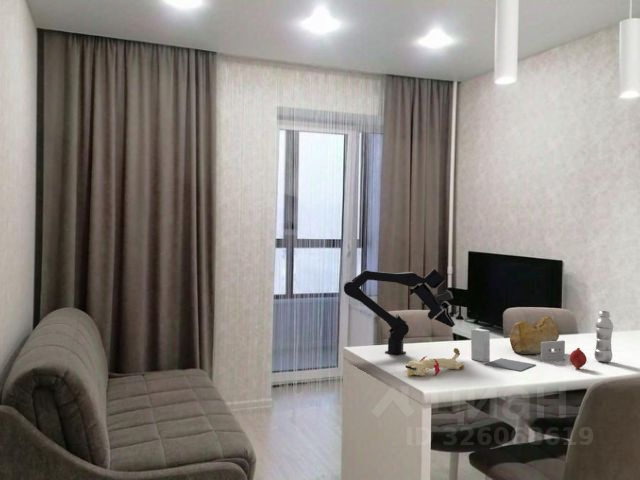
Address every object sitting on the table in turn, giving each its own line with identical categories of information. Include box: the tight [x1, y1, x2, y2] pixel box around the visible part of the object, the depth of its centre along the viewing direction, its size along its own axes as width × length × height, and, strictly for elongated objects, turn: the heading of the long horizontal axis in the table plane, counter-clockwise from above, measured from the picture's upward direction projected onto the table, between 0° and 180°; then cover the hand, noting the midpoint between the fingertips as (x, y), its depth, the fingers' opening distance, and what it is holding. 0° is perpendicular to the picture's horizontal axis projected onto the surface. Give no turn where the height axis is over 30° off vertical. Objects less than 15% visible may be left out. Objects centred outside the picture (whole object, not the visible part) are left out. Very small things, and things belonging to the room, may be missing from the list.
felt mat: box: [484, 357, 537, 372], centre depth 216 cm, size 14×14×1 cm
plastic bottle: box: [593, 310, 614, 363], centre depth 225 cm, size 6×7×20 cm
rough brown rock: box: [509, 315, 560, 355], centre depth 243 cm, size 23×17×15 cm
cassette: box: [540, 339, 566, 363], centre depth 225 cm, size 12×2×8 cm, turn 113°
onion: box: [569, 347, 587, 370], centre depth 212 cm, size 6×6×8 cm
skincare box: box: [470, 328, 491, 363], centre depth 223 cm, size 6×4×12 cm
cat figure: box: [404, 348, 465, 376], centre depth 202 cm, size 10×9×25 cm
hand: (453, 326), depth 227 cm, fingers open, 3 cm apart
